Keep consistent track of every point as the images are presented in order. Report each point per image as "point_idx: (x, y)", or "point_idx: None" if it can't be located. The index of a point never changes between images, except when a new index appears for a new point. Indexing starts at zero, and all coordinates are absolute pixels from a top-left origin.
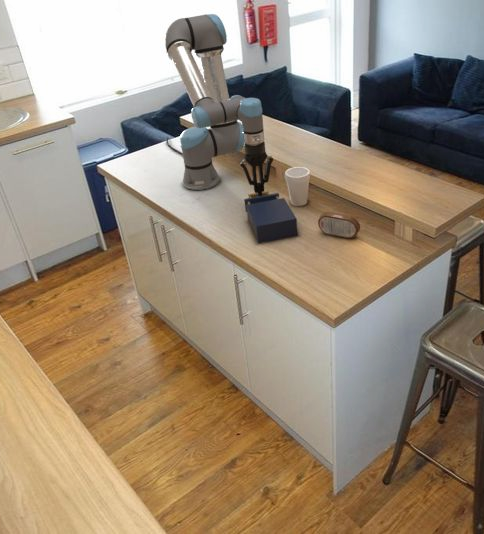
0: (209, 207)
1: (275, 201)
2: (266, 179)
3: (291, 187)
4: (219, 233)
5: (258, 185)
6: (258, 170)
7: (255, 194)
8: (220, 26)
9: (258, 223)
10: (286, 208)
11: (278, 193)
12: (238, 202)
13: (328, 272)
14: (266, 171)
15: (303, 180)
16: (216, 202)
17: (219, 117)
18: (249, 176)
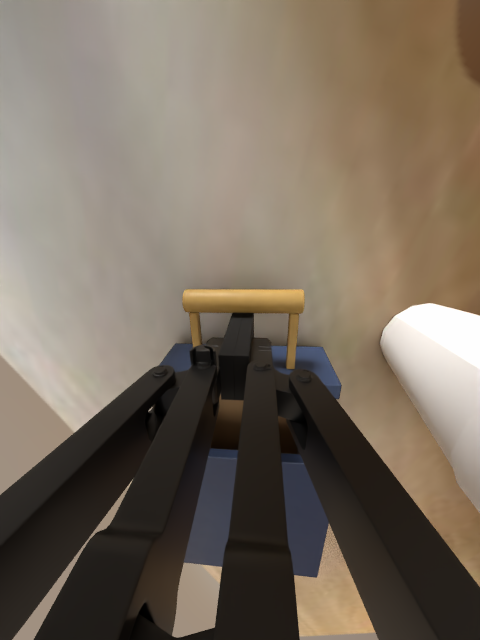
0: (20, 230)
1: (288, 476)
2: (299, 430)
3: (435, 438)
4: (90, 418)
5: (229, 396)
6: (237, 463)
7: (222, 312)
8: None
9: (186, 554)
10: (311, 529)
11: (339, 393)
12: (152, 231)
13: (309, 593)
14: (328, 508)
15: None
16: (44, 187)
17: None
18: (126, 480)
